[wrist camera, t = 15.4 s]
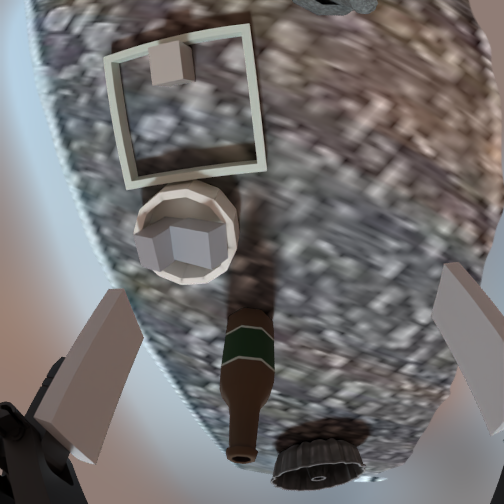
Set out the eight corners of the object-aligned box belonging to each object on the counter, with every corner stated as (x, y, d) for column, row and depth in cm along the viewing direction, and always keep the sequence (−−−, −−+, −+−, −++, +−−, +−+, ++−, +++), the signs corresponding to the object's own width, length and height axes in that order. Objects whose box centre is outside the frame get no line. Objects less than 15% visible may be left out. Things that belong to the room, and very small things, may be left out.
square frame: (111, 58, 30) (103, 57, 28) (250, 27, 29) (249, 23, 27) (133, 184, 39) (126, 190, 37) (266, 166, 37) (266, 171, 35)
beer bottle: (234, 343, 52) (220, 471, 31) (219, 310, 48) (195, 447, 27) (278, 336, 51) (282, 468, 29) (267, 301, 47) (267, 444, 26)
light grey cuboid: (169, 225, 36) (208, 232, 33) (187, 217, 39) (225, 223, 36) (174, 259, 38) (211, 269, 35) (191, 249, 41) (228, 258, 38)
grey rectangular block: (165, 216, 40) (133, 234, 35) (184, 218, 39) (152, 238, 34) (171, 246, 42) (141, 266, 38) (189, 250, 41) (160, 272, 36)
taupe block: (164, 54, 31) (147, 47, 25) (191, 48, 30) (178, 40, 25) (169, 86, 33) (152, 85, 27) (195, 81, 32) (183, 78, 27)
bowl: (137, 187, 39) (124, 198, 35) (231, 174, 38) (227, 183, 34) (159, 269, 45) (149, 286, 41) (244, 263, 44) (242, 280, 40)
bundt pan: (377, 441, 72) (383, 469, 63) (312, 470, 82) (314, 495, 73) (321, 420, 64) (325, 455, 56) (252, 453, 75) (250, 482, 66)
